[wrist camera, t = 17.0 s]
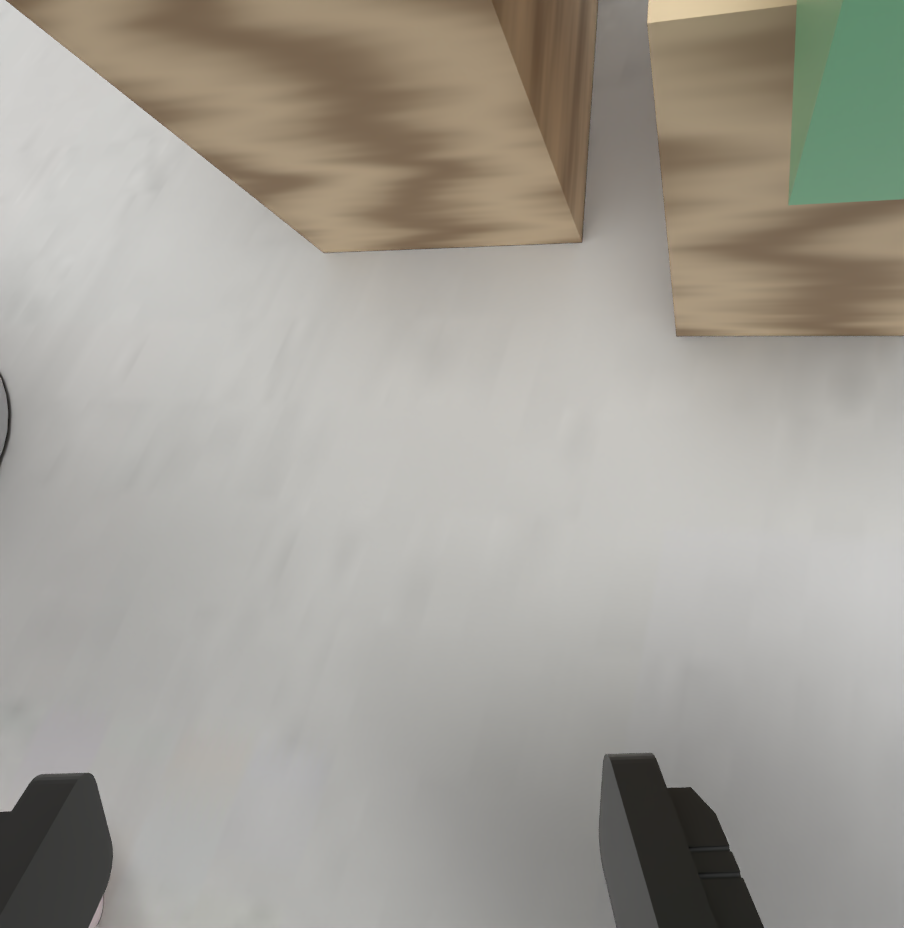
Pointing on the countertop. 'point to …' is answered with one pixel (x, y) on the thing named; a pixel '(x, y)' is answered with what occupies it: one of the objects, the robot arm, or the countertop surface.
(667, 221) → the oak ledge
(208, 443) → the countertop surface
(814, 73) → the green bar
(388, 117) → the oak shelf block
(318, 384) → the countertop surface
